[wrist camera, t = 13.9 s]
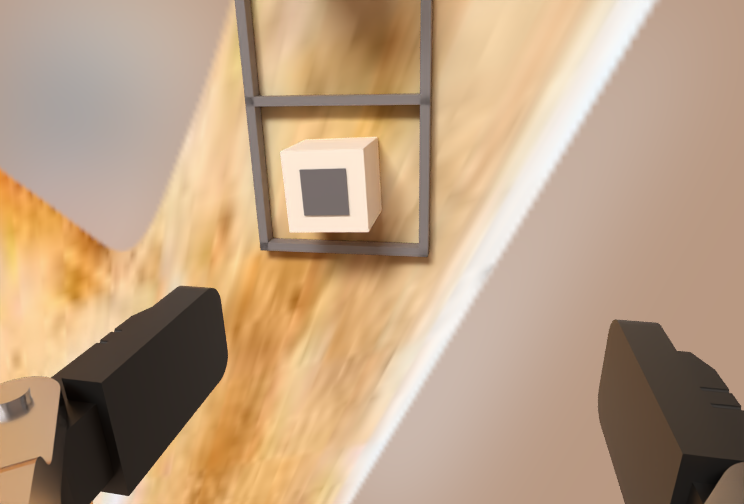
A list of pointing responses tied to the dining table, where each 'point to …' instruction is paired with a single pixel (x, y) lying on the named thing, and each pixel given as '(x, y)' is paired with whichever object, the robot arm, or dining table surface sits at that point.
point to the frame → (256, 101)
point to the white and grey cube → (332, 184)
